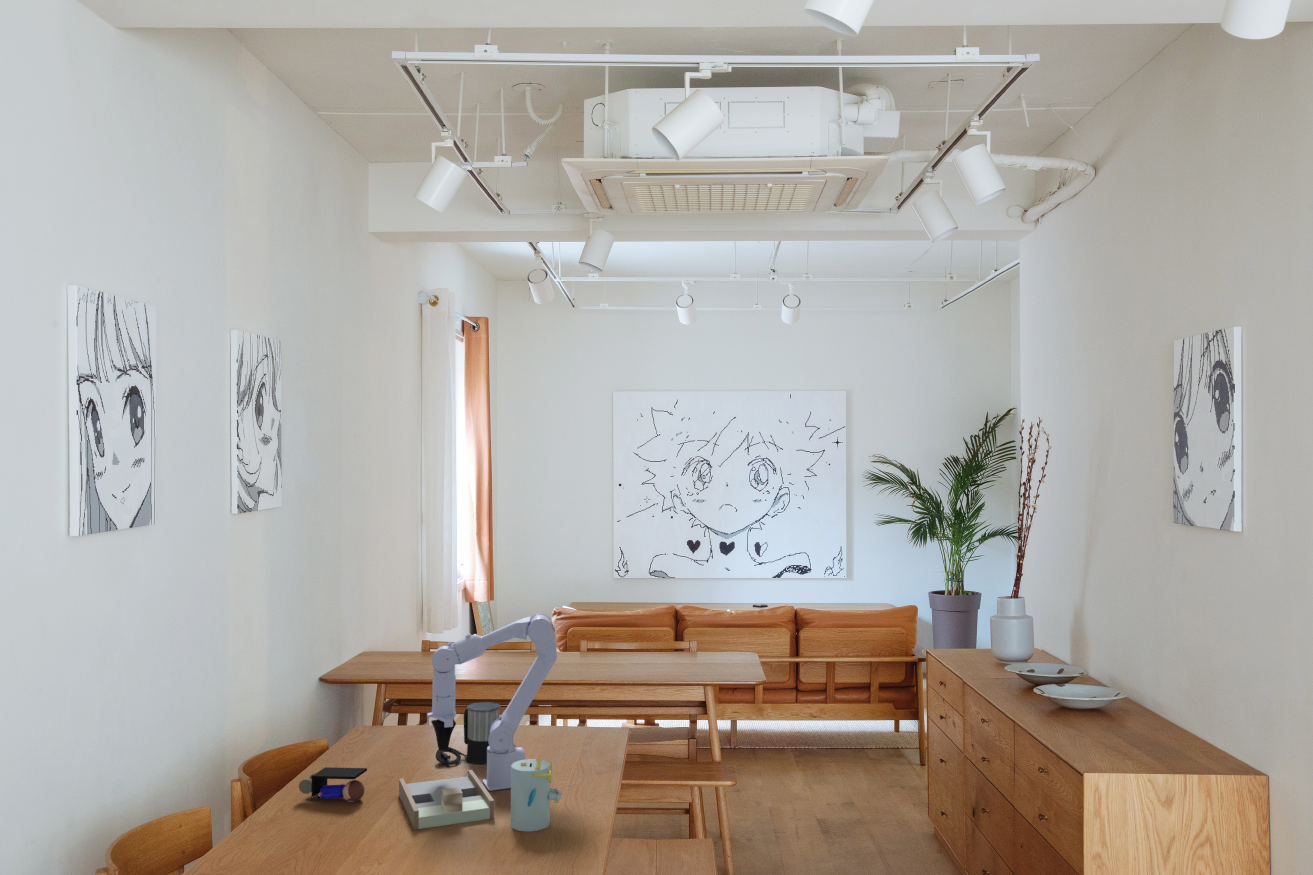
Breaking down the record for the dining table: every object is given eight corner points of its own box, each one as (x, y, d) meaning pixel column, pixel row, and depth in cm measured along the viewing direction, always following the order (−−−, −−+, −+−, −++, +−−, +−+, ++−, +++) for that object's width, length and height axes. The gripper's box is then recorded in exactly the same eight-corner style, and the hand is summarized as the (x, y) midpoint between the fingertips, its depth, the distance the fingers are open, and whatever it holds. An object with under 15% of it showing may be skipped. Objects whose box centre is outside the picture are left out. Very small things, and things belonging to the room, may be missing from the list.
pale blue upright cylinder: (561, 840, 199) (562, 777, 200) (507, 841, 198) (508, 778, 199) (561, 807, 219) (562, 749, 220) (512, 808, 218) (513, 751, 219)
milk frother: (506, 758, 257) (507, 704, 258) (466, 773, 244) (467, 716, 244) (469, 749, 265) (470, 697, 265) (428, 764, 252) (429, 709, 252)
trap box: (471, 785, 234) (472, 769, 234) (494, 817, 212) (494, 800, 212) (398, 794, 227) (399, 778, 227) (413, 829, 205) (414, 811, 205)
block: (459, 804, 213) (459, 787, 214) (462, 810, 210) (462, 792, 210) (441, 806, 212) (441, 789, 212) (444, 812, 208) (444, 794, 208)
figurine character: (298, 808, 221) (356, 805, 219) (295, 776, 222) (354, 772, 219) (313, 799, 228) (370, 796, 226) (311, 767, 229) (368, 764, 226)
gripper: (423, 689, 239) (422, 743, 239) (432, 702, 226) (432, 758, 225) (450, 687, 242) (449, 740, 241) (461, 700, 229) (460, 755, 228)
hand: (443, 749), depth 233 cm, fingers closed
